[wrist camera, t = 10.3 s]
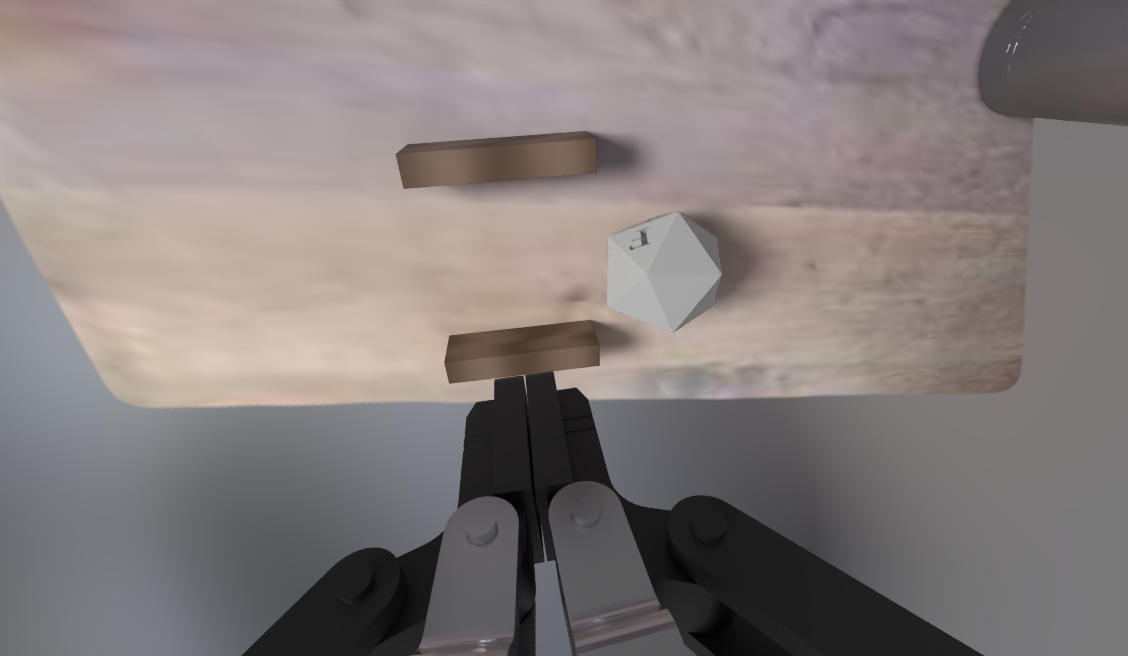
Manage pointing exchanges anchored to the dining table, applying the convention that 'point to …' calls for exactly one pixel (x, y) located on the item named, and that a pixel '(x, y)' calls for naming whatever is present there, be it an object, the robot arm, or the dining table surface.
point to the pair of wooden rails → (498, 163)
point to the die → (663, 271)
